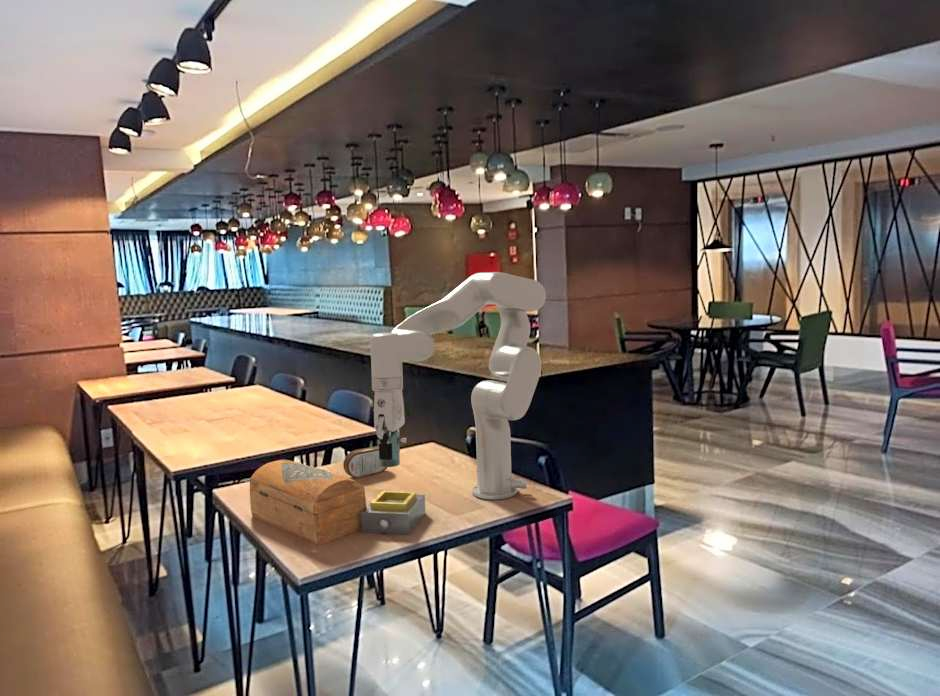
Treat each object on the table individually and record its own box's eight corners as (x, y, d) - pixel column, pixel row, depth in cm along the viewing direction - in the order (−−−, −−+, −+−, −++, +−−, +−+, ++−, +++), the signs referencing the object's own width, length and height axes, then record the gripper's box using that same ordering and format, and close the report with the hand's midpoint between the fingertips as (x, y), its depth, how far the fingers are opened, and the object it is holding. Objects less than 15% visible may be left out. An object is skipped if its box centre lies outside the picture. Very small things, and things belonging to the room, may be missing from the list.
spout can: (409, 462, 172) (408, 430, 171) (403, 467, 167) (402, 435, 166) (383, 461, 173) (382, 429, 172) (376, 466, 168) (375, 434, 167)
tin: (387, 469, 218) (386, 443, 217) (392, 471, 216) (390, 445, 215) (343, 478, 210) (342, 452, 209) (348, 481, 207) (346, 454, 206)
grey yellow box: (425, 513, 178) (424, 489, 177) (407, 537, 163) (406, 510, 162) (381, 511, 180) (380, 487, 180) (359, 534, 165) (358, 508, 165)
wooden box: (372, 526, 171) (369, 472, 169) (315, 547, 159) (311, 489, 157) (305, 500, 192) (301, 452, 190) (250, 517, 180) (246, 466, 178)
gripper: (390, 389, 159) (393, 466, 161) (412, 378, 175) (414, 448, 177) (360, 389, 161) (362, 465, 163) (384, 378, 177) (386, 447, 179)
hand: (389, 455), depth 170 cm, fingers closed on spout can, 5 cm apart
